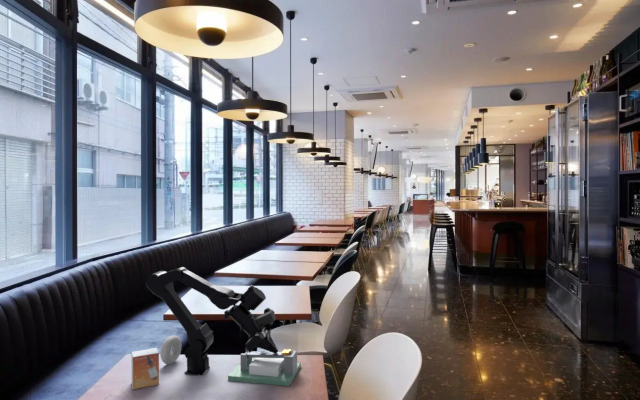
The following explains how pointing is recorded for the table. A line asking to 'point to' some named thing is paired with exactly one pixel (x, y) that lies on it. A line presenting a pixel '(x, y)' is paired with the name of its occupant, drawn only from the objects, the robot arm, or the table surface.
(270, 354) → the strap
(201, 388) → the table surface
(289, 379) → the board
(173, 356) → the donut
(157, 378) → the small box
